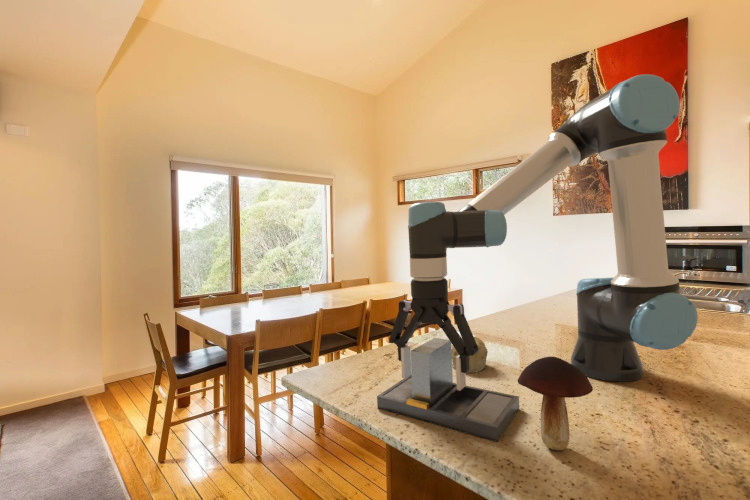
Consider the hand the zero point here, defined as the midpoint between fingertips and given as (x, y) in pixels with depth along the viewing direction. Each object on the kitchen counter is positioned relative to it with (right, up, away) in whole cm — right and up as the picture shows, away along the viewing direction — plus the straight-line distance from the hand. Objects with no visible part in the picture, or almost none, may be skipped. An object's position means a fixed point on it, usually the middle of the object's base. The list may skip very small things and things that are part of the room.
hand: (432, 381), depth 78 cm
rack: (+3, -5, -2) cm, 6 cm away
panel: (0, -4, 0) cm, 4 cm away
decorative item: (+13, -4, +22) cm, 26 cm away
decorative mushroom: (+17, -5, -17) cm, 25 cm away
